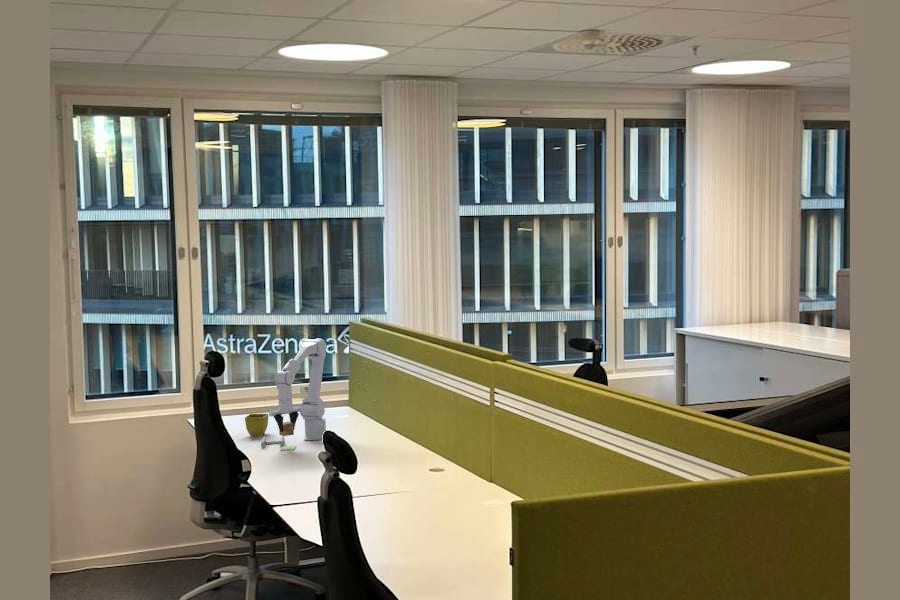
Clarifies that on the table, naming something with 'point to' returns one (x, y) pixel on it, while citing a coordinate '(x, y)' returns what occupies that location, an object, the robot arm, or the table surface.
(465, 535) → the table surface
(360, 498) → the table surface
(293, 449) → the coaster
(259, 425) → the flower pot
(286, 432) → the block
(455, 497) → the table surface
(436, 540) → the table surface
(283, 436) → the goalpost shaped bracket
